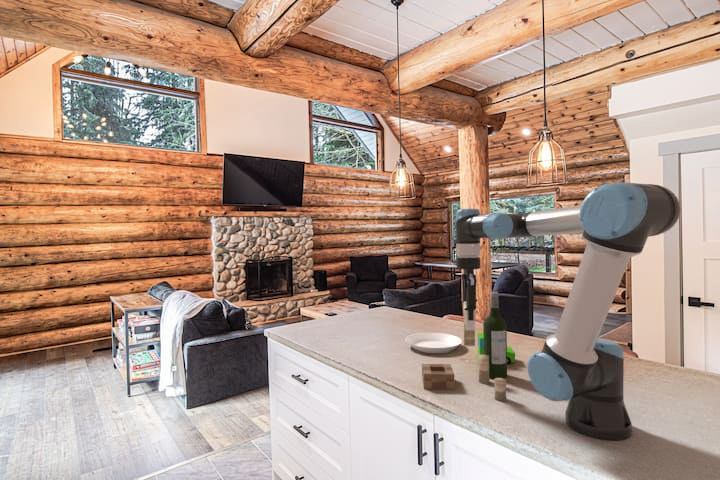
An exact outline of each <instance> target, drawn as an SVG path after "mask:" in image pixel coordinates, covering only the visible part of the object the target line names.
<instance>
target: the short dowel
mask: <svg viewBox="0 0 720 480" xmlns="http://www.w3.org/2000/svg"><path fill="white" fill-rule="evenodd" d="M494 400H495V401H498V402H507V379H506V378H505V379H503V378H495V379H494Z"/></svg>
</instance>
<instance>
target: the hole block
mask: <svg viewBox="0 0 720 480" xmlns="http://www.w3.org/2000/svg"><path fill="white" fill-rule="evenodd" d="M421 379H422V380H421V381H422V384H423V385H422V386H423V389H424V390H455V388H456V387H455V382H456V381H455V372H454V370H453V368H452V365H451V363H421Z"/></svg>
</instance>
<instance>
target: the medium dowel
mask: <svg viewBox="0 0 720 480" xmlns="http://www.w3.org/2000/svg"><path fill="white" fill-rule="evenodd" d="M478 383H480V384H483V385H487V384H489V383H490V378H489V356H488V355H478Z"/></svg>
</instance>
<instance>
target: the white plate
mask: <svg viewBox="0 0 720 480" xmlns="http://www.w3.org/2000/svg"><path fill="white" fill-rule="evenodd" d="M405 342H406V343H407V344H409V345H410V347H412V348H413V349H414V350H416V351H417V352H421V353H424V354H425V353H426V354H447V353H450V352H452V351H453V352H454V350H455V349H456V348H457V347H458V346H459V345H461V344H462V342H463V340H462V338H460V337H459V336H456V335H454V334H449V333H442V332H419V333H413V334H410V335H408V336H406V337H405Z"/></svg>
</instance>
